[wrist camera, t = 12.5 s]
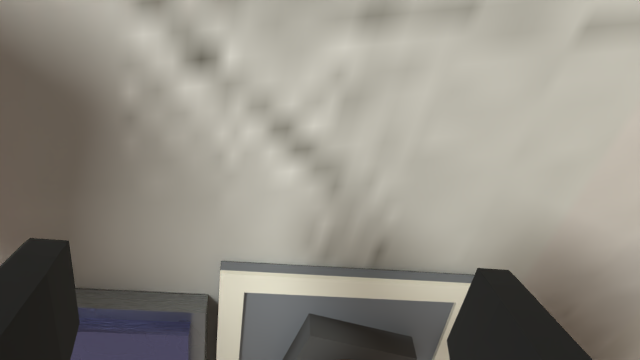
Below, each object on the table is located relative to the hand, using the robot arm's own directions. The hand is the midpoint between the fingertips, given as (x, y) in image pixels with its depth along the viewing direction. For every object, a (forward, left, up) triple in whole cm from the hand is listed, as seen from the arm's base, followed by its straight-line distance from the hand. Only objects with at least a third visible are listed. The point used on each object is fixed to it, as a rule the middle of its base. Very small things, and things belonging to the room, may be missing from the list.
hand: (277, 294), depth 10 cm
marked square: (+4, -14, -10) cm, 18 cm away
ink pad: (-6, -14, -10) cm, 18 cm away
